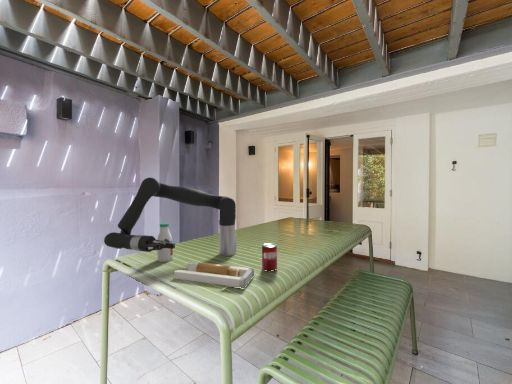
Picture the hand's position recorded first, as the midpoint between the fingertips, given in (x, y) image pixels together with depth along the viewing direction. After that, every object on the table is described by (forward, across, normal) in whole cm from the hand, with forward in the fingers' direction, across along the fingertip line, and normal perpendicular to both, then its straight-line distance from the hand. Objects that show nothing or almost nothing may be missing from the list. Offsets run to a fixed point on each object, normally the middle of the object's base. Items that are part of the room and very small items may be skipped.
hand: (173, 246), depth 110 cm
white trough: (+20, 0, +13) cm, 24 cm away
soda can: (+41, +17, +13) cm, 46 cm away
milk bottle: (-16, +15, +13) cm, 26 cm away
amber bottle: (+13, 0, +9) cm, 16 cm away
